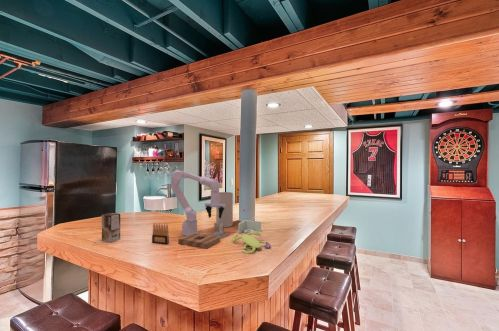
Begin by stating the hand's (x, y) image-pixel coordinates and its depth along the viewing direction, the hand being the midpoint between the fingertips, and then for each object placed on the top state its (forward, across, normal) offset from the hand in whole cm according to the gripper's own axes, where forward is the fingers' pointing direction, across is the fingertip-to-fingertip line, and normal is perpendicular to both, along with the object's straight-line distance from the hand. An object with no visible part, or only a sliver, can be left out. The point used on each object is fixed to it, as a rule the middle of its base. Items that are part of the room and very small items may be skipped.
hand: (215, 217), depth 166 cm
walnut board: (+10, 0, -22) cm, 25 cm away
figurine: (+11, +30, -17) cm, 36 cm away
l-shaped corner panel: (+11, +22, +8) cm, 26 cm away
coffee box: (+11, -54, -33) cm, 65 cm away
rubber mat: (+10, +5, -5) cm, 13 cm away
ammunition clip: (+11, -21, -30) cm, 38 cm away
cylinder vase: (+11, -2, +21) cm, 23 cm away
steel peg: (+10, +5, -6) cm, 12 cm away
